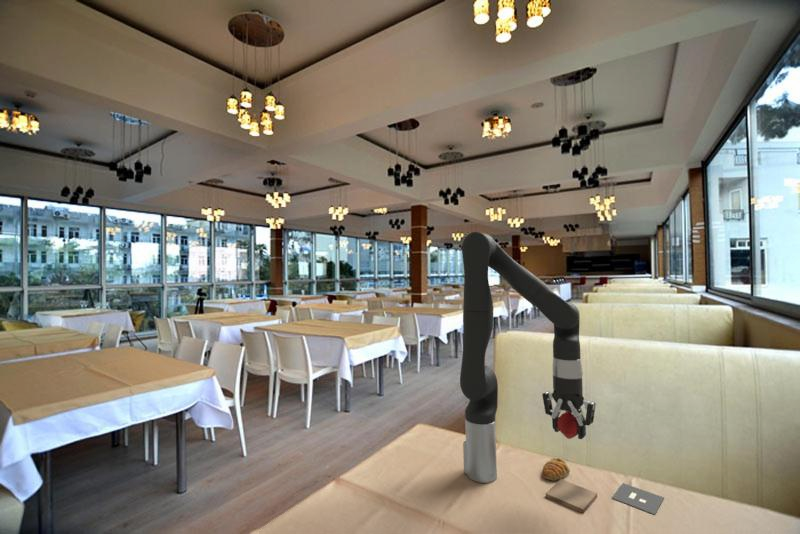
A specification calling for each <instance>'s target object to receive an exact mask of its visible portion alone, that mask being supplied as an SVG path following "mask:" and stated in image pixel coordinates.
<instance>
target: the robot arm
mask: <svg viewBox="0 0 800 534" xmlns="http://www.w3.org/2000/svg"><path fill="white" fill-rule="evenodd" d="M462 241H463V242H462V245H461V250H462V253H461V254H462V261H463V262H462V263H463V272H464V273H463V277H464V279H463V304H462V324H463V325H462V326H463V327H462V329H463V331H462V355H461V356H462V358H461V367H460V376H459V385H460V386H459V387H460V390H461V393H462V394H463V395H464V397H465V398H466V399H468V400H469V401H468V404H467V406H466V408H465V409H464V419H465V420H464V423H465V424H464V425H465V427H464V429H465V441H463V443H462V445H463V446H462V448H463V449H462V450H463V451H462V452H463V473H464V474H466V476H467V478H468V479H469V480H471V481H474V482H477V483H484V484H486V483H487V484H488V483H491V482H494V481H496V479H497V478H498V469H497V436H496V435H497V433H496V431H497V430H496V429H497V428H496V427H497V426H496V425H497V424H496V415H497V411H498V402H499V401H498V400H499V397H498V396H499V395H498V391H499V389H498V388H499V387H498V379H497V376H496V373H495V371H494V370H493V369H492V368H491V367H490V366H488V365H486V363H485V361H486V352H487V349H488V345H489V342H490V340H491V336H492V333H493V328H494V301H493V300H494V299H493V295H492V291H491V287H490V283H489V268H490V269H492V270H494V271H495V272H496V273H497V274H499V275H500V276H501V277H502V278H503V279H504V280H505V281H506V282H507V284H509V285H510V286H511V288H512V289H514V290H515V292H516V293H517V294H519V295H520V296H521V297H523V299H525V300H526V301H527V302H528V303H530V304H532V306H534V307H535V308H537V310H539V311H540V313H541V314H542V315H544V317H545V318H546V319H548V321H550V322H551V323H552V324H553V331H554V332H553V333H554V335H553V340H552V357H553V358H552V388H553V392H550V391H545V392H544V393H542V400H543V406H544V412H545V414H546V415H549V416H550V417H551V421H552V429H553V430H554V432H555V433H558V432H560V430H559V428H558V424H557V422H558V418H559V417H560V416H561V415H560V414H562V411H564V412H566V411H569V412H571V413H572V414H573V415H574V417H575V418H576V419H577V421H578V424H579V425H578V435H577V439H579V440H583V439H584V438H585V437H586V435H587V431H586V430H587V429H586V428H587V427H586V426H591V424H593V423H594V421H595V420H594V419H595V413H596V412H595V411H596V405H597V404H596V402H594V401H593V400H592V401H589V400H586V399H585V397H584V396H583V391H584V388H583V368H582V367H583V365H582V358H581V357H582V355H581V343H580V320H581V319H580V311H579V309H578V307H577V306H576V305H575V304H574V303H572V302H568V301H566V300H564V299H563V298H562V297H561V296H559V295H558V294H557V293H555V292H554V290H553V289H552V288H551V286H549V285H547V283H545V282H544V281H543V280H542V279H540V278H538V277H537V276H536V275H535V274H533V273H532V272H531V271H529V270H528V269H527V268H525V267H524V266H523V265H521V264H519V263H518V262H517V261H516V260H514V259H513V258H512V257H511V256H510V255H509V254H508V253H506V251H505V250H504V249H503V248H502V247H501V246H500V245H499V244H498V243H497V242H496V241H495V240H494V238H493V237H492V236H491V235H489V234H488V233H485V232H481V231H473V232H470V233H469V234H468V233H467V235H466V236H465V237H464V239H463V240H462ZM552 400H553V401H554V402H555V403H556V404H555V406H554V408H553V402H552ZM583 405H584V408H585V409H586V414H585V415H584V412H583V409H582V406H583Z"/></svg>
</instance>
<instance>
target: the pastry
mask: <svg viewBox="0 0 800 534" xmlns="http://www.w3.org/2000/svg"><path fill="white" fill-rule="evenodd" d="M542 467H543V468H542V472H541V474H542V477H543V479H546V480H550V481H553V482H556V481H559V480H560V479H562V480H564V478H565V477H567V476H568V475H569V474H570V472H571V470H570V467H569V466H568V464H567V463H566V461H565V460H564V459H561V458H557V457H556V458H555V457H554V458H551V459H550V460H548V461H546V462H545V464H544V465H543V466H542Z"/></svg>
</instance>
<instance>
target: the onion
mask: <svg viewBox="0 0 800 534" xmlns="http://www.w3.org/2000/svg"><path fill="white" fill-rule="evenodd" d="M557 424H558V428H559V430H560V431H559V432H560V433H561V434H562V435H563V436H564V437H565V438H567V439H568V440H571V439H573V438H575V437H576V436H578V425H579V424H578V421H577V419H576V418H575V417H574V415H573V413H571V412H569V411H564V412H563V413H561V415H559V418H558V422H557Z"/></svg>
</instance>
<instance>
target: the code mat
mask: <svg viewBox="0 0 800 534" xmlns="http://www.w3.org/2000/svg"><path fill="white" fill-rule="evenodd" d="M611 499H613V500H615V501H618V502H620V503H623V504H625V505H628V506H629V507H633V508H636V509H638V510H641V511H643V512H646V513H649V514H651V515H653V516H656V514H657V512H658V511H659V509H660V507H661V506H662V505H661V504H662V503H663V501H664V499H665V497H664V496H660V495H659V494H655V493H653V492H650V491H648V490H647V491H646V490H643V489H642V488H641V489H640V488H638V487H636V486H633V485H630V484H627V483H625V482H622V484H621V485H620V486H619V488H617V490H616V491H615V492H614V494H613V495H612V496H611Z"/></svg>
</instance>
